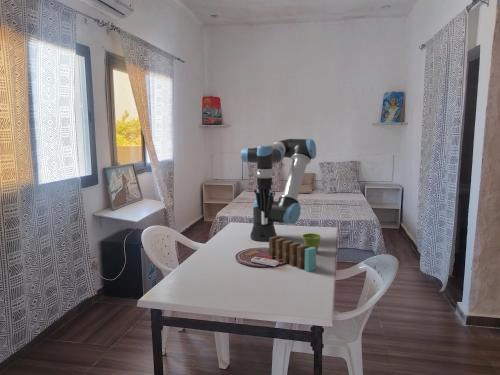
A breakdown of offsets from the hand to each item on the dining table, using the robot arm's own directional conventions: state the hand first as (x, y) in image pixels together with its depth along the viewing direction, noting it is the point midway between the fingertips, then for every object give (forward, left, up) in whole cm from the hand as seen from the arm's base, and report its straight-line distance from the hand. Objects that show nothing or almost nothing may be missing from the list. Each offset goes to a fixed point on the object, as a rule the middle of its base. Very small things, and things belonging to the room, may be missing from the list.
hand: (264, 223), depth 188 cm
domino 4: (+21, 0, -15) cm, 26 cm away
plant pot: (+14, +19, -16) cm, 29 cm away
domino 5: (+25, 0, -15) cm, 30 cm away
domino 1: (+7, 0, -16) cm, 17 cm away
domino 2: (+11, 0, -15) cm, 19 cm away
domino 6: (+30, 0, -15) cm, 34 cm away
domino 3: (+16, 0, -15) cm, 22 cm away
